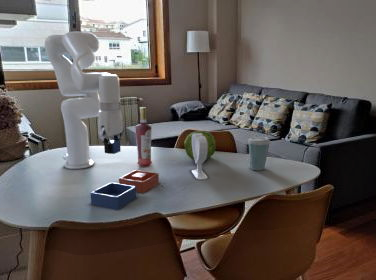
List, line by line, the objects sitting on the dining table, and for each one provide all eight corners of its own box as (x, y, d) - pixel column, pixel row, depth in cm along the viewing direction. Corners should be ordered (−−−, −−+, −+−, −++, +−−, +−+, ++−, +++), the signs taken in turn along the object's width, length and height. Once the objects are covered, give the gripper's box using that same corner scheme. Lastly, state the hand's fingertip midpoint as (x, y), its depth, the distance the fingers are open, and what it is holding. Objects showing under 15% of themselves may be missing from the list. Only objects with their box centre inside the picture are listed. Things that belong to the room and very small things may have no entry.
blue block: (104, 152, 142) (104, 142, 141) (111, 150, 146) (111, 139, 145) (113, 154, 141) (113, 143, 140) (120, 151, 145) (120, 140, 144)
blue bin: (91, 204, 126) (90, 192, 125) (111, 193, 136) (110, 182, 135) (117, 209, 122) (117, 197, 121) (136, 197, 133) (136, 186, 132)
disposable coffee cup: (243, 169, 167) (244, 138, 164) (250, 163, 177) (252, 134, 174) (265, 173, 164) (266, 141, 160) (271, 166, 173) (273, 136, 170)
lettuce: (216, 158, 194) (211, 130, 195) (220, 156, 173) (215, 126, 174) (186, 163, 191) (182, 135, 192) (187, 162, 171) (182, 131, 172)
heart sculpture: (190, 169, 166) (190, 131, 162) (200, 168, 168) (200, 131, 164) (197, 180, 152) (197, 139, 148) (209, 179, 154) (209, 138, 149)
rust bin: (119, 188, 141) (118, 178, 140) (135, 179, 151) (135, 169, 150) (143, 193, 137) (143, 182, 136) (158, 183, 147) (158, 173, 146)
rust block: (131, 186, 143) (131, 175, 141) (138, 182, 147) (137, 172, 146) (141, 187, 141) (140, 177, 140) (147, 184, 145) (147, 173, 144)
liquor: (144, 168, 165) (142, 109, 159) (133, 166, 169) (131, 107, 162) (155, 164, 171) (154, 107, 165) (144, 162, 175) (142, 105, 168)
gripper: (115, 103, 148) (117, 145, 152) (87, 108, 132) (90, 155, 137) (131, 104, 145) (132, 147, 150) (104, 110, 130) (106, 158, 135)
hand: (112, 151), depth 143 cm, fingers closed on blue block, 4 cm apart
